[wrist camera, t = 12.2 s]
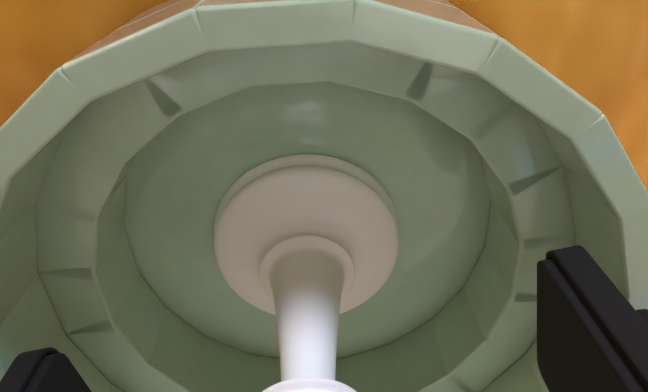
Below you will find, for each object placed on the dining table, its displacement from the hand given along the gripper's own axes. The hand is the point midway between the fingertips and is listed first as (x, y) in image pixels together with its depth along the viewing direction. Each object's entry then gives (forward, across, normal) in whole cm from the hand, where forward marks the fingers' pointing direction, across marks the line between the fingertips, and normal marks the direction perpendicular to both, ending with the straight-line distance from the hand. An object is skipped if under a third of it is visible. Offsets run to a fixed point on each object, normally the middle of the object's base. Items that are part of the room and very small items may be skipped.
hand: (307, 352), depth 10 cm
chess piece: (+4, 0, 0) cm, 4 cm away
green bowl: (+4, 0, 0) cm, 4 cm away
